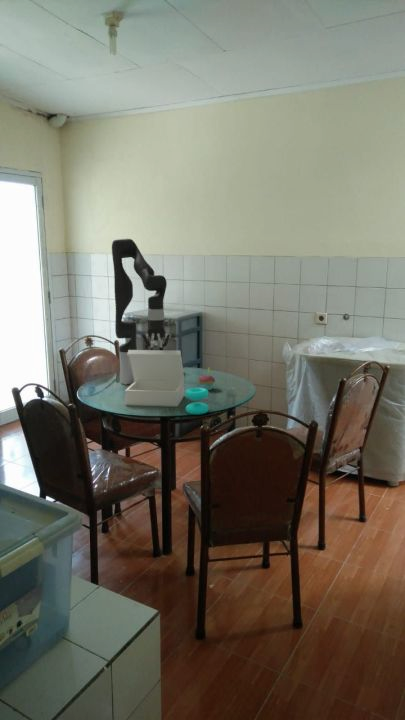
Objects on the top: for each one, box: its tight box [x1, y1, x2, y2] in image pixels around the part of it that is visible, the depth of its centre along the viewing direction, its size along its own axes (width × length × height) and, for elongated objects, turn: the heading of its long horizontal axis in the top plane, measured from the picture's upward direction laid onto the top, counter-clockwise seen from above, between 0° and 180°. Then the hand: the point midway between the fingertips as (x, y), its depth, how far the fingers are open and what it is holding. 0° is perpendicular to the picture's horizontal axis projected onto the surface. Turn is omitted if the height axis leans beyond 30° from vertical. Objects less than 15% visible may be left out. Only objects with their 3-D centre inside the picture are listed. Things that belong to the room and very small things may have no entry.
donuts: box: [184, 387, 210, 416], centre depth 221 cm, size 10×10×10 cm
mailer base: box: [124, 381, 185, 408], centre depth 239 cm, size 17×24×7 cm
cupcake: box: [197, 367, 216, 391], centre depth 258 cm, size 9×8×12 cm
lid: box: [127, 344, 185, 383], centre depth 242 cm, size 18×24×8 cm
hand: (157, 355), depth 242 cm, fingers closed on lid, 3 cm apart
